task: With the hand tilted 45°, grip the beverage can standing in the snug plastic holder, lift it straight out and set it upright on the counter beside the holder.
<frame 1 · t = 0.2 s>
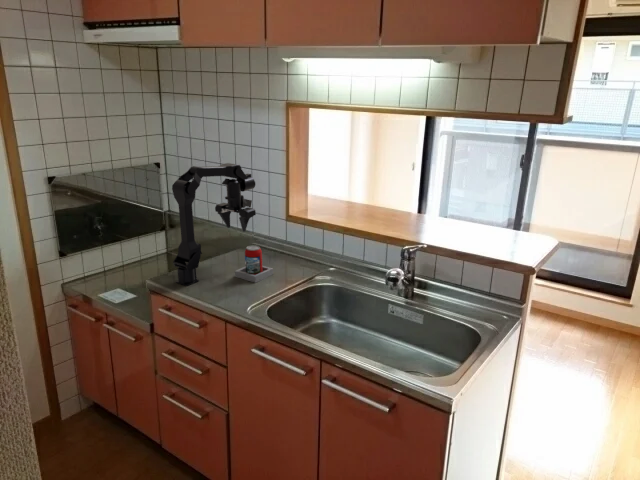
hand: (236, 229, 213), 15 cm above the counter, tool pointing down, fingers open, 9 cm apart
holder: (254, 275, 202), on the counter
beverage can: (254, 276, 202), resting in holder
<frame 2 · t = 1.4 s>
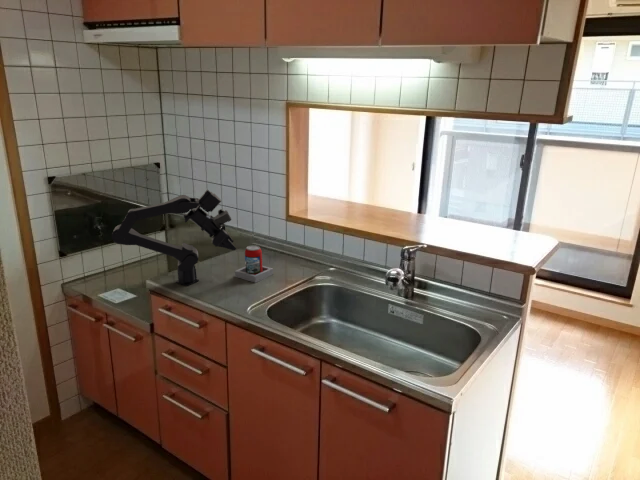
hand: (234, 245, 196), 13 cm above the counter, tool tilted 45°, fingers open, 9 cm apart
nothing on the counter moved.
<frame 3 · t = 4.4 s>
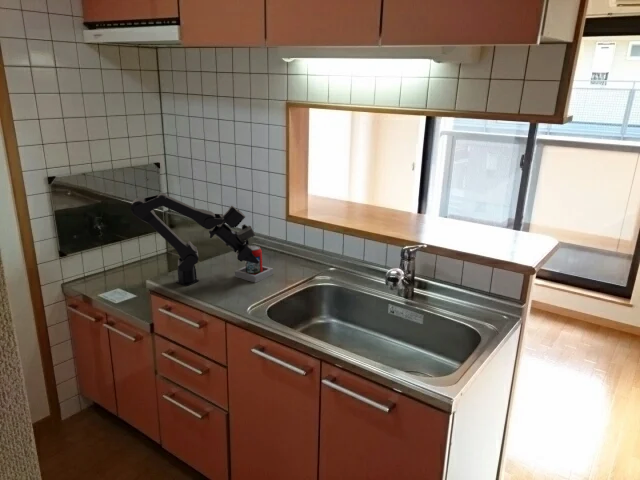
hand: (257, 259, 201), 7 cm above the counter, tool tilted 45°, fingers closed on beverage can, 7 cm apart
beverage can: (254, 275, 202), resting in holder, touching gripper
when the fingers open (8 cm above the counter, at t = 9.0 s): beverage can drops 1 cm, on the counter.
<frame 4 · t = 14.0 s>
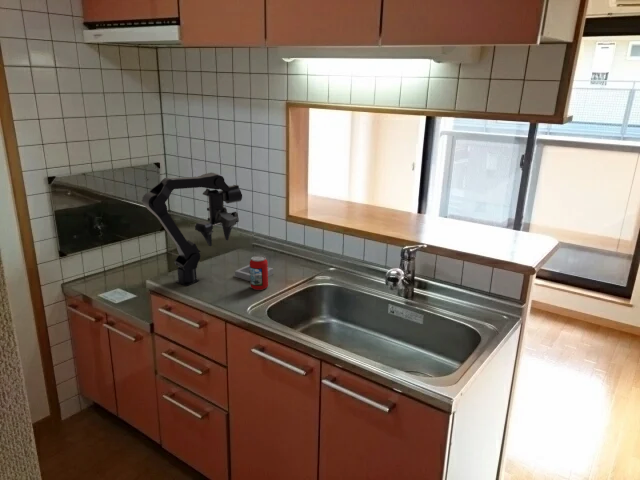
hand: (218, 243, 201), 13 cm above the counter, tool pointing down, fingers open, 9 cm apart
beverage can: (259, 288, 191), on the counter
at the end: beverage can touching counter; beverage can inside the target area (0.1 cm from its centre), on the counter; beverage can tilted 0° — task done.
